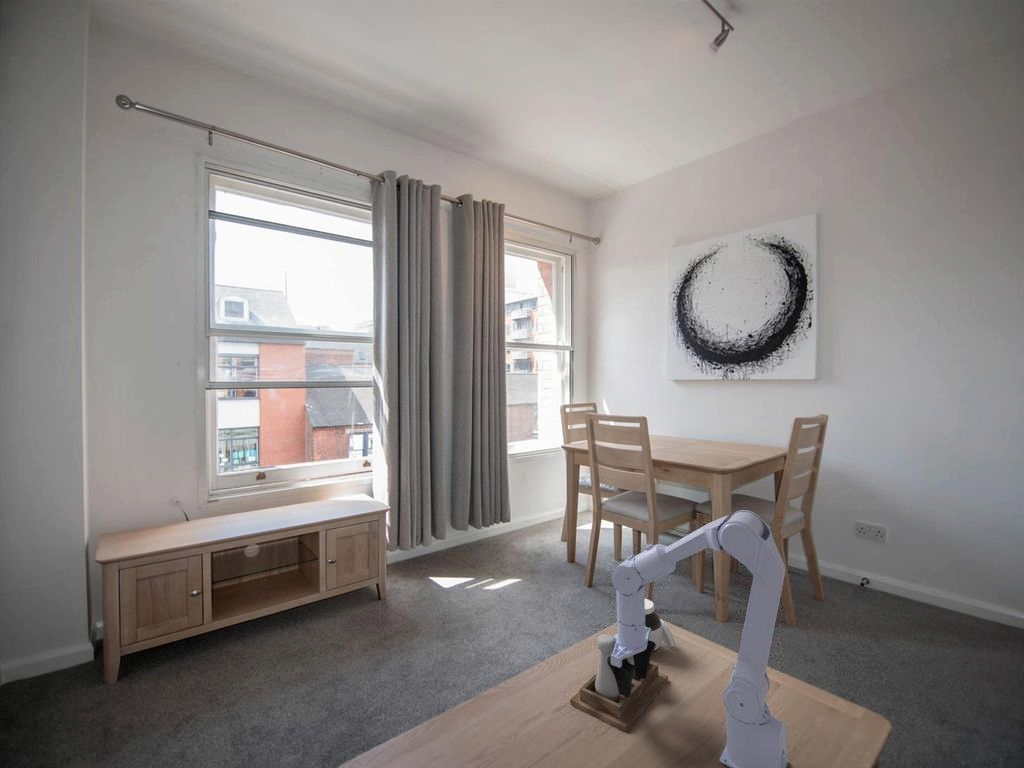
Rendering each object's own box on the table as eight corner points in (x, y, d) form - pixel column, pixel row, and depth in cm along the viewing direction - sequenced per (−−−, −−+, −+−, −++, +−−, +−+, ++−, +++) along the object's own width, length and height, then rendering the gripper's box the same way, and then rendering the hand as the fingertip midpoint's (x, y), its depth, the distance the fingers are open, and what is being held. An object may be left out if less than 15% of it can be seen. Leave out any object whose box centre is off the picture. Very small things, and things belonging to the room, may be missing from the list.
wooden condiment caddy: (668, 680, 108) (667, 641, 108) (625, 732, 92) (624, 686, 92) (617, 660, 116) (616, 623, 116) (570, 704, 100) (569, 662, 101)
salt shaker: (623, 691, 103) (621, 632, 103) (622, 709, 97) (620, 646, 97) (596, 688, 104) (594, 629, 104) (594, 704, 99) (592, 643, 99)
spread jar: (616, 646, 123) (615, 601, 123) (641, 630, 130) (640, 588, 130) (657, 665, 114) (655, 617, 114) (681, 648, 121) (679, 602, 121)
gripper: (629, 602, 105) (631, 662, 105) (596, 627, 94) (598, 695, 94) (659, 610, 101) (661, 674, 101) (628, 638, 90) (630, 710, 90)
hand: (633, 685), depth 97 cm, fingers open, 7 cm apart
